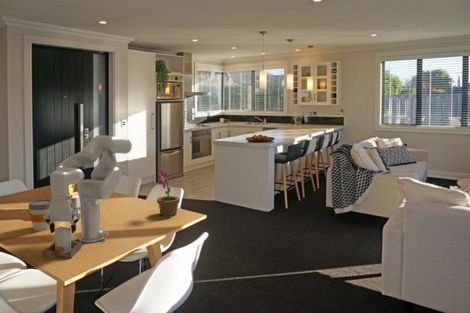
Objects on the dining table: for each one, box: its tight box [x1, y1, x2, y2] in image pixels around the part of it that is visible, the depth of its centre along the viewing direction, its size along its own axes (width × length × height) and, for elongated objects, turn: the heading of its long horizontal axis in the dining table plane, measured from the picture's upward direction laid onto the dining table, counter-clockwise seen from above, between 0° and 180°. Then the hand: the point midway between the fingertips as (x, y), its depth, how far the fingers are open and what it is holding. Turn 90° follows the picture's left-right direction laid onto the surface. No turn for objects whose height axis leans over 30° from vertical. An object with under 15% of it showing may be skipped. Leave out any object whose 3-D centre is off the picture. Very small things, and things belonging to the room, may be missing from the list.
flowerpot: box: [156, 168, 181, 217], centre depth 247 cm, size 14×14×30 cm
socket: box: [42, 241, 82, 259], centre depth 185 cm, size 13×13×3 cm
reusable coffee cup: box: [28, 199, 52, 232], centre depth 218 cm, size 13×13×15 cm
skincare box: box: [54, 226, 72, 251], centre depth 185 cm, size 6×4×12 cm
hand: (63, 232), depth 185 cm, fingers open, 9 cm apart
